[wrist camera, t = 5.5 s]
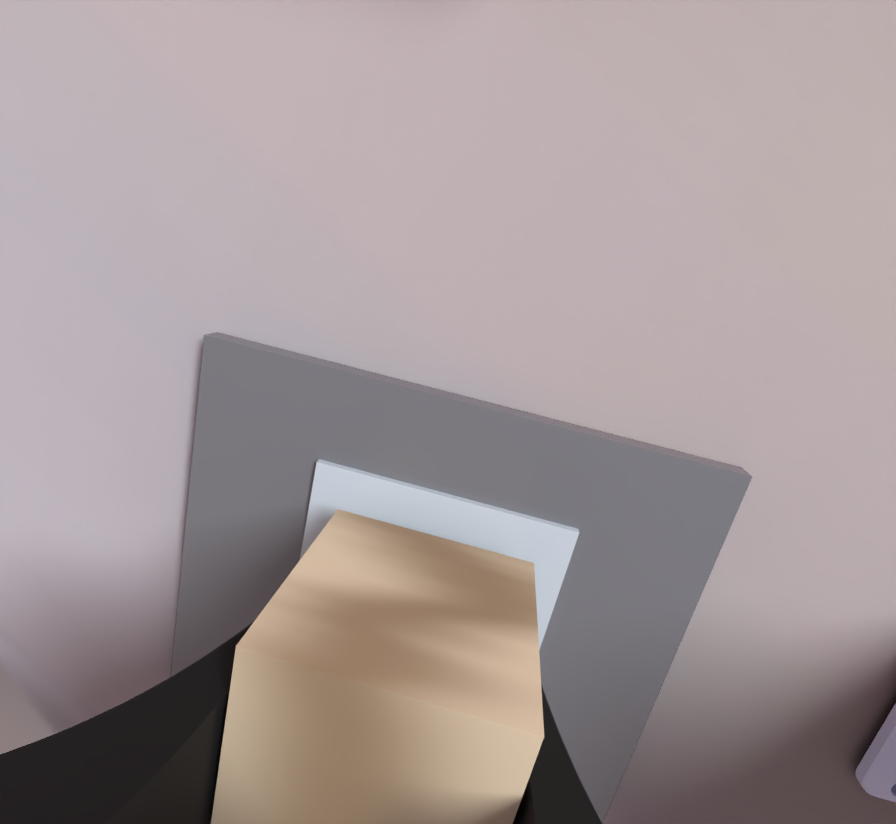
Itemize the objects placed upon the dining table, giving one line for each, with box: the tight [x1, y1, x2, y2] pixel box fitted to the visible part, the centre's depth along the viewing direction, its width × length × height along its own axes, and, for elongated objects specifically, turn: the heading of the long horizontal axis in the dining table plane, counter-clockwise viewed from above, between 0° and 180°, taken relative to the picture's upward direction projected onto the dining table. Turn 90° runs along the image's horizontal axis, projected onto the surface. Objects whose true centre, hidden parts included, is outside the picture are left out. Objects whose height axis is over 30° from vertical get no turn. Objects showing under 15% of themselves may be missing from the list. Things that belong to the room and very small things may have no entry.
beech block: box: [211, 509, 544, 824], centre depth 11 cm, size 5×5×5 cm
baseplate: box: [170, 333, 752, 823], centre depth 15 cm, size 14×12×1 cm
